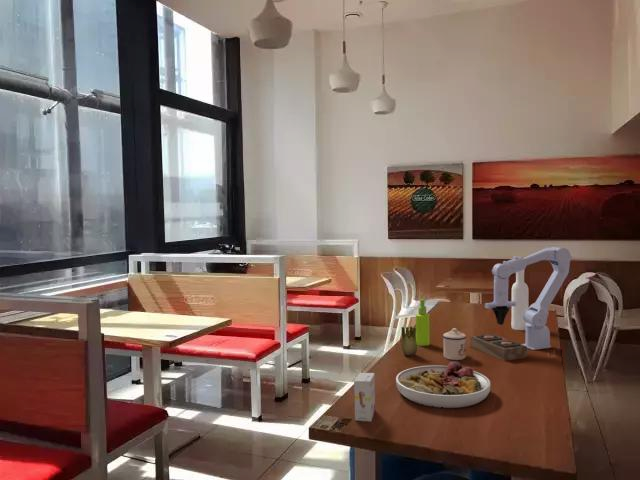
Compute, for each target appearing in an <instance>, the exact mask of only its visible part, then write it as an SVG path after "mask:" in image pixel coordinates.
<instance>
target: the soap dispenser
mask: <svg viewBox="0 0 640 480" xmlns="http://www.w3.org/2000/svg"><path fill="white" fill-rule="evenodd" d="M425 300H426V298H420V299H419V302H420V305H419V306H418V313H416V314H415V328H416V342H417V346H421V347H423V346H425V347H426V346H429V345H430V344H431V343H430V342H431V341H430V338H431V337H430V314H429V313H427V306H426V305H425Z"/></svg>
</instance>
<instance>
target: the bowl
mask: <svg viewBox="0 0 640 480" xmlns="http://www.w3.org/2000/svg"><path fill="white" fill-rule="evenodd" d="M491 383H492V382H491V380H490V379H489V378H488V377H487V376H486V375H484V374H482V373H480V372H478V371H475V370H473V369H472V367H470V366H465V367H464V366H462V364H461V363H460V362H459V360H452V361H451V362H449V363H448V364H447V365H421V366H415V367H410V368H407V369H405V370H402V371H400V372H399V373H398V374H397V375H396V377H395V385H396V387H397V389H398V391H399V392H400V394H401V395H402V396H403V397H405V398H406V399H408V400H409V401H411V402H414V403H416V404H420V405H422V404H423V406H427V407H432V406H433V408H441V407H443V408H442V409H444V408H445V409H455V408H456V409H457V408H465V407H470V406H473V405H474V406H475V405H476V404H479V403H480V402H482V401H483V400H485V399H486V398H487V396H488V395H489V393H490V391H491Z"/></svg>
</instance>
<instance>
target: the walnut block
mask: <svg viewBox="0 0 640 480" xmlns="http://www.w3.org/2000/svg"><path fill="white" fill-rule="evenodd" d="M484 336H494V338H492V339H486V338H484ZM469 342H470V343H469V346H470V348H471V349H474V350H476V351H479V352H481V353H483V354H487V355H489V356H491V357H494V358H496V359H500V360H501V361H505V362H507V361H511V360H520V359H526V358H528V348H527V346H524V345H522V344H523V343H522V344H521V343H518V342H516V341H512V340H510V339H507V338H504V337H500V336H498V335H495V334H492V333H489V334H480V335H474V336H473V335H472V336H470V337H469ZM501 342H511V343H512V345H503V344H501Z"/></svg>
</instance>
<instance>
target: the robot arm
mask: <svg viewBox="0 0 640 480" xmlns="http://www.w3.org/2000/svg"><path fill="white" fill-rule="evenodd" d="M543 260H545V261H546V260H547V261H548V262H549V263H550V264H551V266H552V269H553V272H552V273H551V274H550V276H549V277H548V281H547V282H546V283H545V285H544V287H543V289H542V291H541V292H540V294H539V296H538V297H537V299H536V300H535V302H533V303H532V304H529V306H528V309H527V310H526V311H525V312H524V313H523V319H524V321H525V322H526V330H525V342H524V343H522V345H524V346H527V349H529V350H532V351H533V350H534V351H536V350H542V349H550V348H552V345H551V333H550V328H549V327H548V326H547V321H548V320H547V319H548V317H549V314H550V313H549V308H550V306H551V304H552V302H553V300H554V299H555V297H556V295H557V294H558V292H559V290H560V288H561V287H562V285H563V283H564V282H565V279H566V278H567V277H568V275H569V272H570V266H571V265H570V263H571V260H572V254H571V252H570V250H568V248H565V247H557V246H552V245H551V246H548V247H544V248H542V249H541V250H538V251H536V252H534V253H531V254H529V255H528V256H525V257H522V256H517V255H515V256H513V257H512V259H510V260H507V261H506V260H504V261H502V263H496V264H494V266H493V267H492V269H491V274H492V275H493V301H491V302H486V303H484V308H485V309H488V310H490V309H492V311H493V313H494V315H495V318H496V319H495V320H496V322H497V324H498V325H500V326H501V325H504V322H505V319H506V316H507V315H508V313H509V311H510V307H512V306H516V302H515V301H512V300H510V301H509V278H510V276H511V275H513V274H516V272H519V271H521V270H524V271H525V269H526V268H527V266H529V265H531V264H535V263H537V262H540V261H543Z"/></svg>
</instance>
